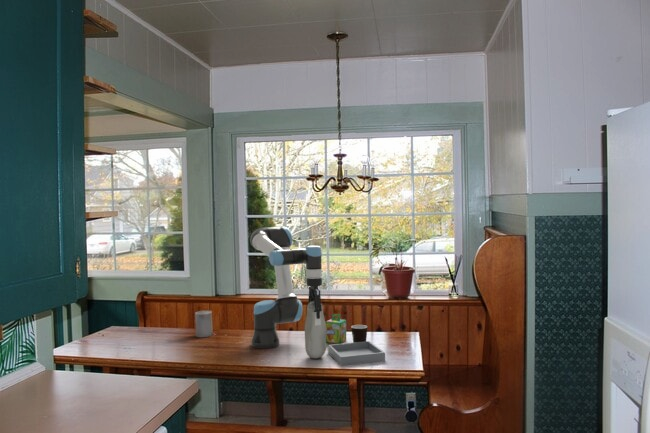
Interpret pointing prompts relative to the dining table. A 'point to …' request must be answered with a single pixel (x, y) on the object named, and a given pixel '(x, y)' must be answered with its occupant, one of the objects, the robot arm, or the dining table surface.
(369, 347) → the tray
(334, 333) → the chalk box
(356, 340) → the coffee mug
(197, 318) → the pillar candle
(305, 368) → the dining table surface
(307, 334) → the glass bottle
